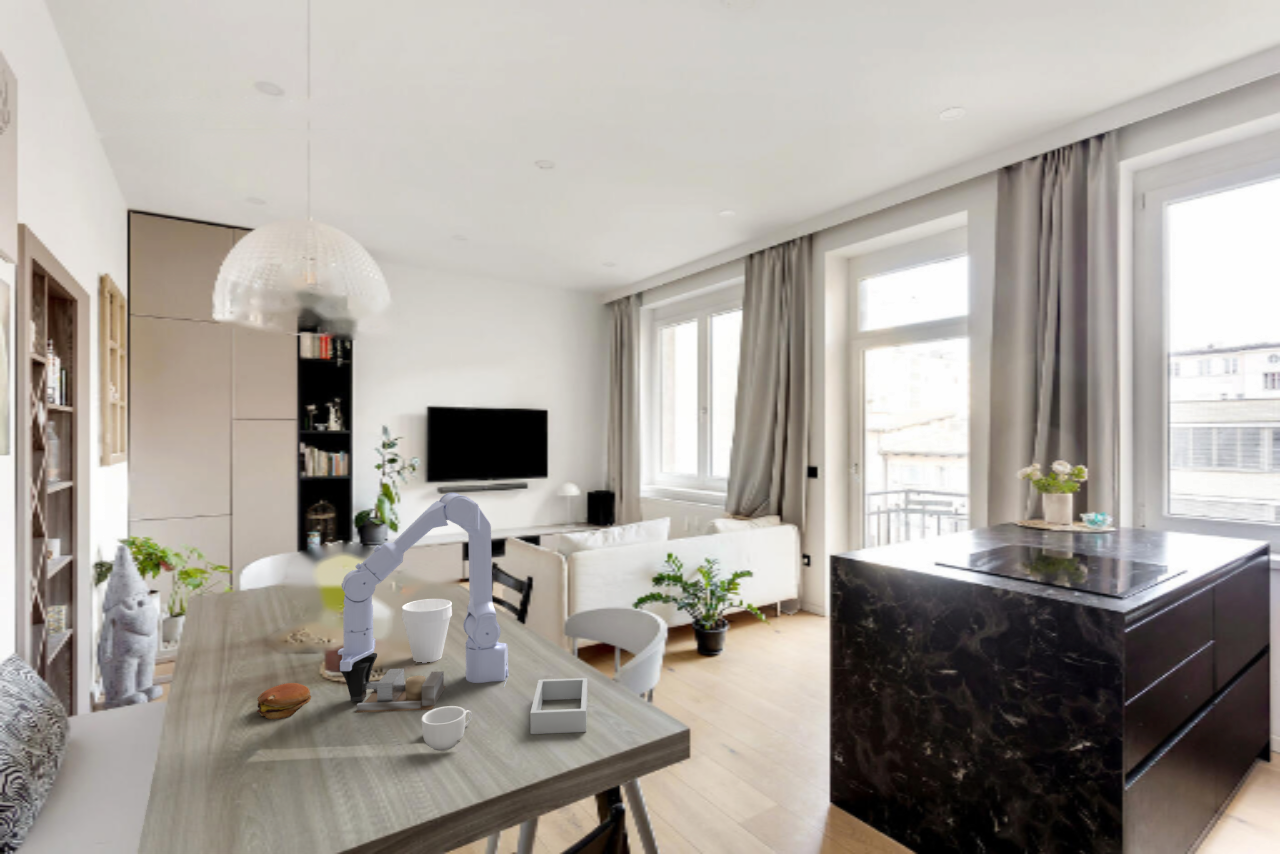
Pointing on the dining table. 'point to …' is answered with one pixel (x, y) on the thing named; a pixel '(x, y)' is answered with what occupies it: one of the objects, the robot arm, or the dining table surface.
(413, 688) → the nut
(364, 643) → the robot arm
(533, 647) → the dining table surface
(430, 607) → the white plant pot
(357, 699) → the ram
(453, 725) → the teacup
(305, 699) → the burger
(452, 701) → the dining table surface
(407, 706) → the bench
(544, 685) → the box
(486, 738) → the dining table surface
